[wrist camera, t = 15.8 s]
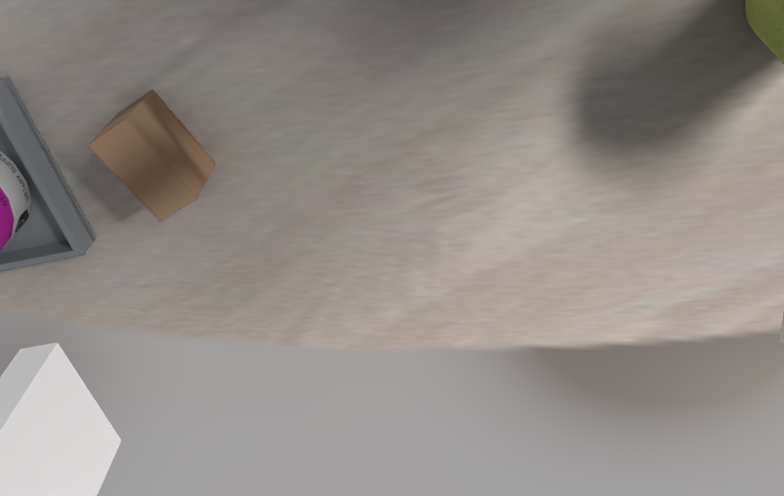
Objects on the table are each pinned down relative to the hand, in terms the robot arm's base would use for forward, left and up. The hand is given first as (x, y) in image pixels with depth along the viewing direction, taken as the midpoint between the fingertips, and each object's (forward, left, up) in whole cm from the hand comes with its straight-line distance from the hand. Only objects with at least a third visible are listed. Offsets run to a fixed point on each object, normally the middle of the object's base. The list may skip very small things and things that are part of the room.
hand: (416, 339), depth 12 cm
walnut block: (+6, -17, -31) cm, 36 cm away
